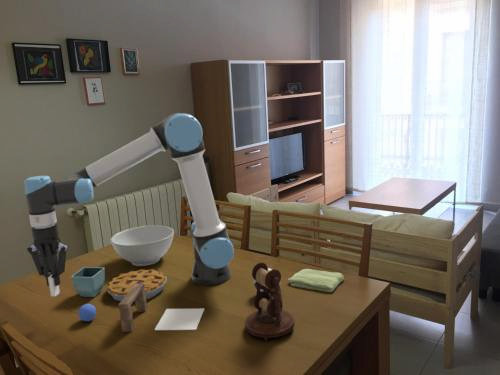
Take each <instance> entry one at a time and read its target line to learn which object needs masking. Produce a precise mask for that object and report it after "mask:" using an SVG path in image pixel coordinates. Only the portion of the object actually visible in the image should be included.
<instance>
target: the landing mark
mask: <svg viewBox="0 0 500 375" xmlns="http://www.w3.org/2000/svg"><path fill="white" fill-rule="evenodd" d="M204 312H205V308H166V309H165V311H164V313H163V314H162V316H161V318H160V319H159V321H158V323H157V325H156V326H155V327H154V331H196V330H197V329H198V326H199V324H200V321H201V318H202V317H203V313H204Z"/></svg>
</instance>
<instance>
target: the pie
mask: <svg viewBox="0 0 500 375" xmlns="http://www.w3.org/2000/svg"><path fill="white" fill-rule="evenodd" d="M167 278H168V276H167V275H166V274H165V272H162V270H160V269H157V270H155V269H154V268H150V269H142V268H141V269H138V270H136V271H135V270H131V271H128V272H126V273H120V274H119V275H118V276H117V277H113V278H112V279H111V281H109V282H108V286H107V288H106V291H107V293H108V294H109V295H110V296H112V298H113V299H114V300H115V301H119V302H121V301H122V300H123V298H124V297H125V296H126V295H127V294H128V292H129V291H130V290H131V289H132V287H133V286H134V285H135V284H144V287H145V295H146V300H148V299H151V298H153V297H155V296H157V295H158V294H160V293H161V291H163V289H164V286H165V284H166V283H167ZM133 302H135V300H134V301H133Z"/></svg>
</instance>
